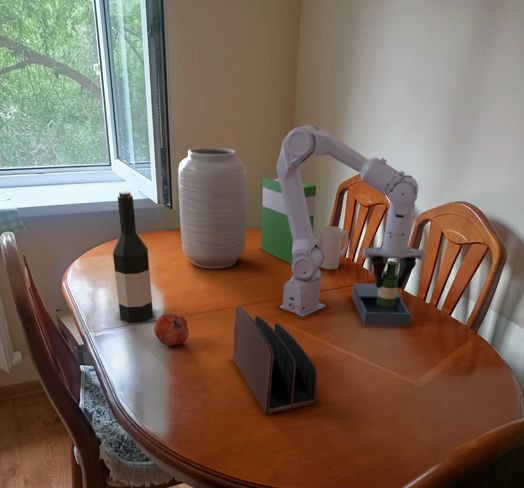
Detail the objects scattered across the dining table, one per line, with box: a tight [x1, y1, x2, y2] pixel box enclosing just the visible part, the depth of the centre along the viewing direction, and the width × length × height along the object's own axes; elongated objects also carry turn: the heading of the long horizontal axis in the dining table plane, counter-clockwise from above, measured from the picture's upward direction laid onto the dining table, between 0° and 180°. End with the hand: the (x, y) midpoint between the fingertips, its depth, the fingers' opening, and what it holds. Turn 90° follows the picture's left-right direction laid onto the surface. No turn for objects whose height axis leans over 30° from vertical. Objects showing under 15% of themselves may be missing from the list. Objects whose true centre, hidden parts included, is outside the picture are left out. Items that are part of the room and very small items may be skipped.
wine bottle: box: [112, 190, 154, 324], centre depth 115 cm, size 8×8×30 cm
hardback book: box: [260, 177, 317, 265], centre depth 160 cm, size 18×7×24 cm, turn 35°
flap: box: [353, 282, 403, 299], centre depth 130 cm, size 8×11×1 cm
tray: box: [351, 285, 412, 327], centre depth 127 cm, size 17×11×4 cm, turn 1°
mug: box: [319, 225, 350, 270], centre depth 155 cm, size 10×7×12 cm, turn 115°
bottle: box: [376, 260, 400, 307], centre depth 119 cm, size 5×5×11 cm
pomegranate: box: [153, 312, 189, 347], centre depth 109 cm, size 7×7×10 cm
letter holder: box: [232, 305, 318, 415], centre depth 95 cm, size 10×20×14 cm, turn 21°
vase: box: [178, 147, 248, 270], centre depth 150 cm, size 20×20×34 cm
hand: (388, 286), depth 120 cm, fingers closed on bottle, 5 cm apart
